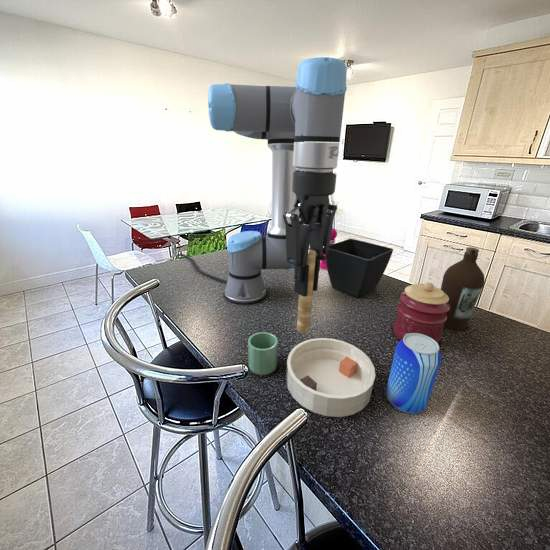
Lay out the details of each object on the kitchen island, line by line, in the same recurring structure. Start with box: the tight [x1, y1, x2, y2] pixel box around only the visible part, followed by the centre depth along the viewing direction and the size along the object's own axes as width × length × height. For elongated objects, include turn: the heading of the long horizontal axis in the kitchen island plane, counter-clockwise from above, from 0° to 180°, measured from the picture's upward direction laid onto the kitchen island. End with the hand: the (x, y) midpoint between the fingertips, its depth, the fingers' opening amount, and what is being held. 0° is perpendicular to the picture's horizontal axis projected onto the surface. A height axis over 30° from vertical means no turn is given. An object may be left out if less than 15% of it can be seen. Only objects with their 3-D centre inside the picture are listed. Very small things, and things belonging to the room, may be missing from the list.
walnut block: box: [300, 376, 317, 391], centre depth 65 cm, size 3×3×3 cm
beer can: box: [385, 333, 443, 414], centre depth 61 cm, size 8×8×16 cm
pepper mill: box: [320, 225, 338, 270], centre depth 131 cm, size 7×7×20 cm
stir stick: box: [296, 249, 316, 334], centre depth 60 cm, size 3×3×18 cm
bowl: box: [285, 337, 376, 418], centre depth 68 cm, size 20×20×6 cm
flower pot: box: [325, 238, 394, 298], centre depth 113 cm, size 19×19×17 cm
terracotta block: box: [339, 357, 357, 378], centre depth 71 cm, size 3×3×3 cm
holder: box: [247, 331, 279, 376], centre depth 72 cm, size 7×7×8 cm
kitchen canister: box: [392, 281, 450, 344], centre depth 84 cm, size 13×13×18 cm
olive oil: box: [440, 246, 485, 331], centre depth 90 cm, size 11×11×25 cm
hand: (305, 290), depth 60 cm, fingers closed on stir stick, 3 cm apart
